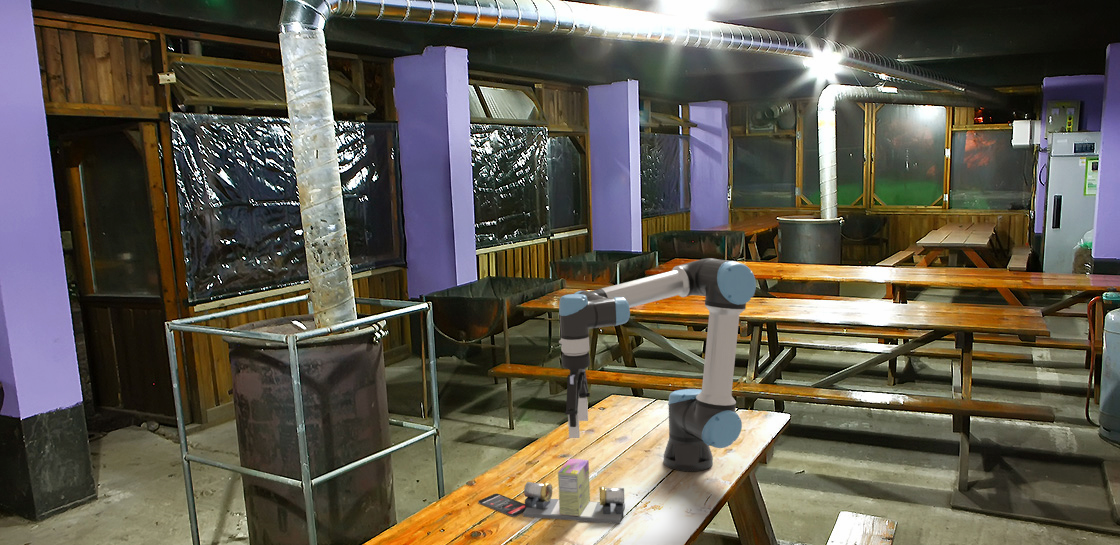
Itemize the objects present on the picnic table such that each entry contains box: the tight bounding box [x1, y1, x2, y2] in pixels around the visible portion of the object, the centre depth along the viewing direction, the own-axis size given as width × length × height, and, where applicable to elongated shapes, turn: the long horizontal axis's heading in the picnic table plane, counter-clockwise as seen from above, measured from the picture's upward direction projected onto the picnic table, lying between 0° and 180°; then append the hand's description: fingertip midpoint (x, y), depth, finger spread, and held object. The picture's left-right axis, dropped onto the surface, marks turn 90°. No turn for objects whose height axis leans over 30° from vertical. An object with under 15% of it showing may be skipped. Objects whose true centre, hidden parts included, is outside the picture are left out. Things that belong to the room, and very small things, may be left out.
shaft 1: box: [523, 481, 553, 510], centre depth 208 cm, size 6×5×7 cm
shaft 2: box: [599, 486, 625, 519], centre depth 204 cm, size 6×5×7 cm
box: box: [557, 458, 591, 516], centre depth 205 cm, size 10×6×12 cm, turn 162°
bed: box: [522, 498, 626, 525], centre depth 206 cm, size 26×10×1 cm, turn 77°
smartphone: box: [477, 493, 525, 518], centre depth 211 cm, size 7×1×15 cm
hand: (578, 428), depth 207 cm, fingers open, 13 cm apart
